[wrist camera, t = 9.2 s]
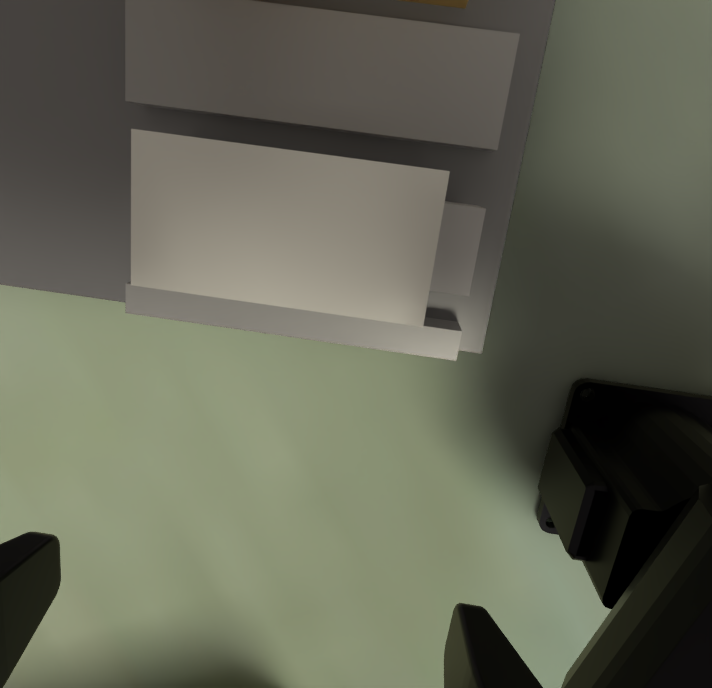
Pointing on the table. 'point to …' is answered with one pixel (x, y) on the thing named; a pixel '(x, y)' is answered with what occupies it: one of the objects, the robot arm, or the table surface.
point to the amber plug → (443, 2)
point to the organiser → (258, 130)
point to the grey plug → (296, 228)
